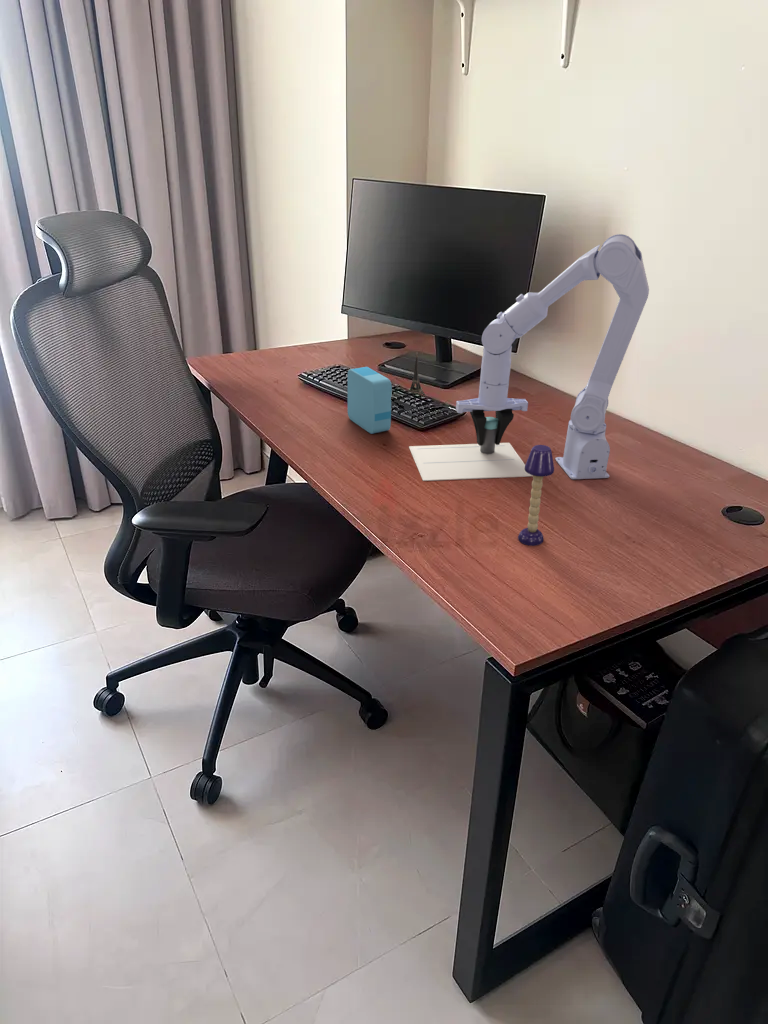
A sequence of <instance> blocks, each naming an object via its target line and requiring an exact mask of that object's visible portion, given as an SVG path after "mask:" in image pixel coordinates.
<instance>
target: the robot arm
mask: <svg viewBox="0 0 768 1024" xmlns="http://www.w3.org/2000/svg"><path fill="white" fill-rule="evenodd" d="M600 246H601V247H600ZM599 248H600V249H599ZM643 260H644V259H643V255H642V252H641V250H640V248H639V246H637V244H636V243H635V241H634V240H633V238H632V237H630V236H629V235H626V234H622V233H621V234H620V233H617V234H613V235H610V236H609V237H608V238H607V239H605V241H604V242H603V243H602V245H601V244H598V245H597V246H594V247H593V248H591V249H590V250H589V251H587V252H585V253H584V254H582V255H581V256H579V258H577V259H576V260H575V261H574V262H573V263H571V264H570V265H569V266H568V267H567V268H566V269H565V270H564V271H562V272H560V274H559V275H558V276H557V277H555V278H554V279H553V280H552V281H550V282H549V283H548V284H547V285H546V286H544V288H543V289H542V290H540V291H539V292H532V291H531V292H530V291H529V292H527V293H526V294H523V293H520V294H519V295H518V296H517V297H516V298H515V301H516V302H515V303H514V304H512V305H511V306H510V307H508V308H507V309H506V310H504V311H500V312H498V314H497V315H496V319H494V320H492V321H491V322H489V324H488V325H487V326H486V327H485V328H484V330H483V332H482V335H481V344H482V346H483V351H482V352H483V354H482V358H481V368H480V380H479V387H478V397H476V398H470V399H464V400H456V402H455V411H456V412H457V414H463V413H467V412H468V413H469V414H470V417H471V420H472V423H473V425H474V429H475V436H476V444H478V445H479V446H482V445H483V437H484V428H485V423H486V420H487V419H486V417H487V416H485V415H486V414H485V412H495V418H497V419H498V428H497V433H496V442H495V444H496V445H499V444H500V443H501V441H502V437H503V436H504V433H505V432H506V430H507V428H508V426H509V425H510V423H511V422H512V421H513V420H514V416H515V415H514V413H513V411H521V412H528V406H529V402H528V401H527V400H526V398H513V397H511V398H509V397H508V395H509V394H508V393H509V386H510V374H511V367H512V349H513V346H512V344H514V342H515V340H516V339H520V338H521V337H523V336H524V335H526V334H527V333H528V332H529V331H531V330H532V329H533V328H534V327H536V326H537V325H539V323H541V322H542V321H543V320H544V319H546V318H547V317H548V310H549V306H551V305H553V304H554V303H555V302H556V301H558V300H559V299H560V298H562V297H563V296H564V295H566V294H567V293H568V292H570V291H571V290H572V289H574V288H576V287H577V286H578V285H579V284H581V283H582V282H585V281H597V280H599V278H600V276H602V277H603V278H604V279H605V280H606V281H608V283H610V284H611V285H612V287H613V288H614V291H615V292H616V294H617V295H618V298H619V300H618V303H617V304H616V308H615V310H614V313H613V316H612V318H611V322H610V324H609V326H608V329H607V332H606V334H605V337H604V339H603V342H602V345H601V347H600V349H599V353H598V355H597V358H596V359H595V362H594V366H593V368H592V371H591V373H590V376H589V378H588V381H587V383H586V385H585V387H583V389H582V390H581V391H579V392H578V393H577V396H576V399H575V403H574V406H573V408H572V410H571V412H570V413H571V414H570V420H568V425H567V432H566V437H565V444H564V450H563V456H557V457H555V461H556V462H557V464H558V465H559V466H560V467H561V468H562V470H563V471H564V472H565V473H566V475H567V476H568V477H569V478H570V480H584V479H585V480H588V479H608V478H610V474H609V473H608V472H607V470H608V469H607V468H608V464H609V462H608V461H609V457H610V453H611V448H610V444H609V442H608V440H607V438H606V431H607V430H606V429H607V424H606V422H605V420H606V414H607V409H608V407H609V396H610V393H611V392H612V391H611V390H612V387H613V385H614V383H615V380H616V377H617V375H618V372H619V370H620V368H621V365H622V362H623V361H624V357H625V355H626V353H627V350H628V348H629V345H630V342H631V340H632V337H633V335H634V333H635V330H636V327H637V325H638V323H639V320H640V318H641V315H642V313H643V310H644V308H645V306H646V302H647V300H648V299H649V294H650V286H649V282H648V277H647V274H646V268H645V265H644V261H643Z"/></svg>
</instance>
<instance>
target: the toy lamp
mask: <svg viewBox="0 0 768 1024" xmlns="http://www.w3.org/2000/svg"><path fill="white" fill-rule="evenodd" d="M525 471H526V472H527V473H528V474H531V475H533V476H532V479H533V480H532V481H531V489H530V496H531V497H530V498H529V504H530V506H529V508H528V512H529V513H528V519H527V521H528V522H527V527H526V528H523V529H522V530H520V532H519V534H518V535H517V540H518V541H519V542H520V543H521V544H522V545H526V546H530V547H531V546H532V547H536V546H539V545H541V544H543V543H544V539H545V538H544V535H543V532H541V530H539V529H538V528H539V524H538V522H539V519H540V515H539V514H540V509H541V508H540V505H541V496H542V488H543V484H544V483H543V481H544V480H543V479H544V477H549V476H552V475H553V474H554V473H555V464H554V459H553V452H552V449H551V447H550V446H549V445H544V444H536V445H534V446H532V448H531V450H530V452H529V455H528V456H527V460H526V462H525Z"/></svg>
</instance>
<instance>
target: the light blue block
mask: <svg viewBox="0 0 768 1024" xmlns="http://www.w3.org/2000/svg"><path fill="white" fill-rule="evenodd" d="M392 386H393V385H392V382H391V380H390V378H388V377H386V376H385V375H383V374H381V373H379V372H377V371H375V370H374V369H372V368H370V367H369V366H363V367H357V368H350V369H349V370H348V371H347V415H348V418H349V420H350V421H351V422H353V423H354V424H356V425H357V426H359V427H360V428H362V429H363V430H364V431H365V432H368V433H369V434H377V433H382V432H387V431H389V430H390V429H391V425H392V424H391V422H392V400H391V397H392V392H393V390H392V388H393V387H392Z"/></svg>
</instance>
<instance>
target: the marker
mask: <svg viewBox="0 0 768 1024" xmlns="http://www.w3.org/2000/svg"><path fill="white" fill-rule="evenodd" d="M485 417H486V419H487V420H486V423H485V428H484V437H483V445H482V446H481V447H480V451H481V452H482V453H485V454H492V453H494V452H495V442H496V433H497V428H498V419H497V418H496V417H493V416H485Z"/></svg>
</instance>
